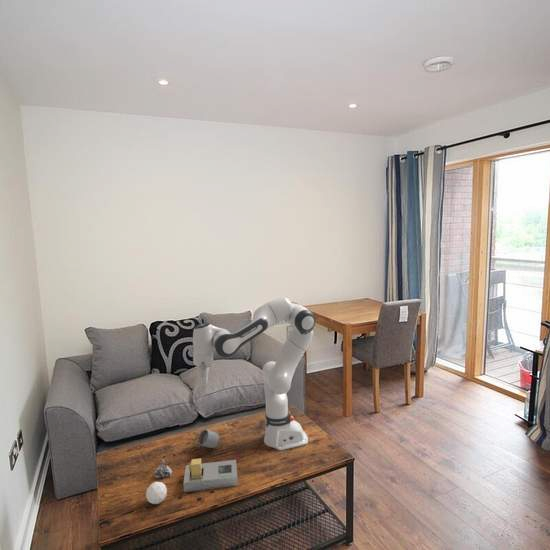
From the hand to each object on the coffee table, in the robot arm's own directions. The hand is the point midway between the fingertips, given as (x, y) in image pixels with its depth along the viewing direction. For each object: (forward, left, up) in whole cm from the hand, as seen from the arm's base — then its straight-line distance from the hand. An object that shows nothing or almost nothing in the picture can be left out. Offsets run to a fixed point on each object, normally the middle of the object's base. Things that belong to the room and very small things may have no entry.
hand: (204, 388), depth 171 cm
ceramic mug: (0, -13, -35) cm, 38 cm away
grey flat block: (-2, +13, -35) cm, 38 cm away
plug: (+4, +13, -35) cm, 38 cm away
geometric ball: (+19, +23, -35) cm, 47 cm away
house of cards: (+20, +8, -36) cm, 42 cm away
